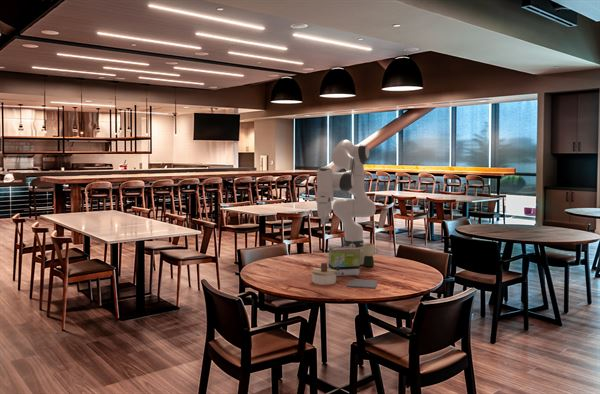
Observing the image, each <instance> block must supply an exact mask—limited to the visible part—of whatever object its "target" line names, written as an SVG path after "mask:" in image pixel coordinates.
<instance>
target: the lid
mask: <svg viewBox="0 0 600 394" xmlns="http://www.w3.org/2000/svg"><path fill="white" fill-rule="evenodd" d="M312 273H313V274H315V275H334V274H336V273H337V271H336V270H334V269H328V262H321V264H320V268H313V269H311V274H312Z"/></svg>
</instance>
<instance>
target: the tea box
mask: <svg viewBox="0 0 600 394" xmlns="http://www.w3.org/2000/svg"><path fill="white" fill-rule="evenodd" d="M360 267H361V266H360V249H358V248H356V247H354V246H346V247H344V246H329V247H328V262H327V268H328V269H334V270H336V271H337V273H336V277H338V276H339V277H340V276H341V277H342V276H359V275H360Z"/></svg>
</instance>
